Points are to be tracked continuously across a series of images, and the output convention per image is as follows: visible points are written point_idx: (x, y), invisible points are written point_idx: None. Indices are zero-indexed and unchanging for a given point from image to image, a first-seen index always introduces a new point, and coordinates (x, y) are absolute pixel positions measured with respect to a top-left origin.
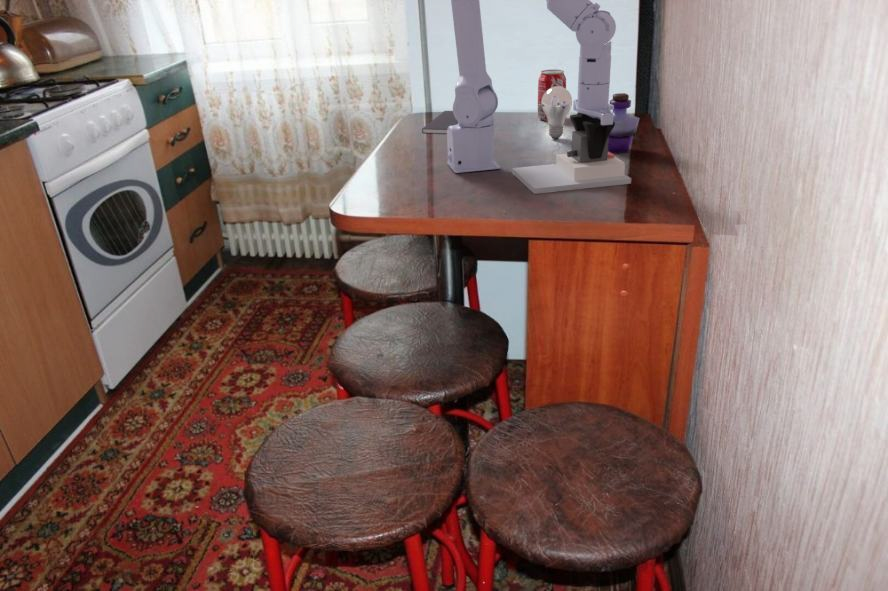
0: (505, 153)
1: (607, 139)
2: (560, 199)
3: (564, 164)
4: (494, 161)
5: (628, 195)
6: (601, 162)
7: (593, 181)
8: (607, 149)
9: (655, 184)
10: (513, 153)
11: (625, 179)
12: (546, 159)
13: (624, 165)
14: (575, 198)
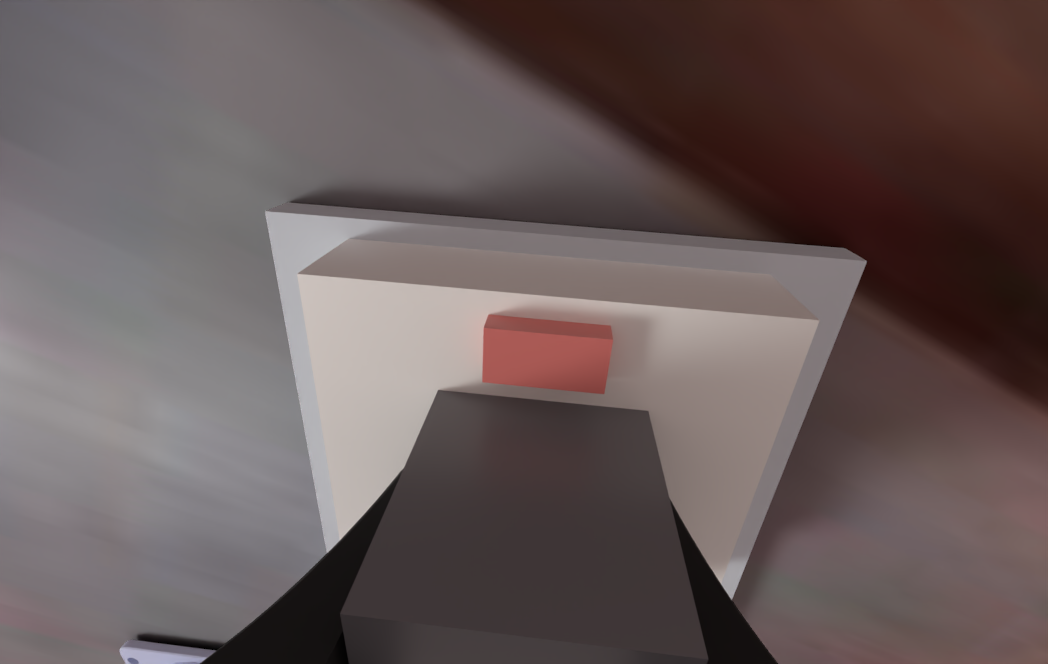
0: (6, 556)
1: (687, 595)
2: (816, 647)
3: None
4: (195, 658)
5: (1033, 385)
6: (678, 471)
7: (755, 497)
8: (663, 485)
9: (1005, 60)
10: (3, 530)
11: (845, 305)
12: (129, 450)
13: (806, 313)
14: (850, 603)
